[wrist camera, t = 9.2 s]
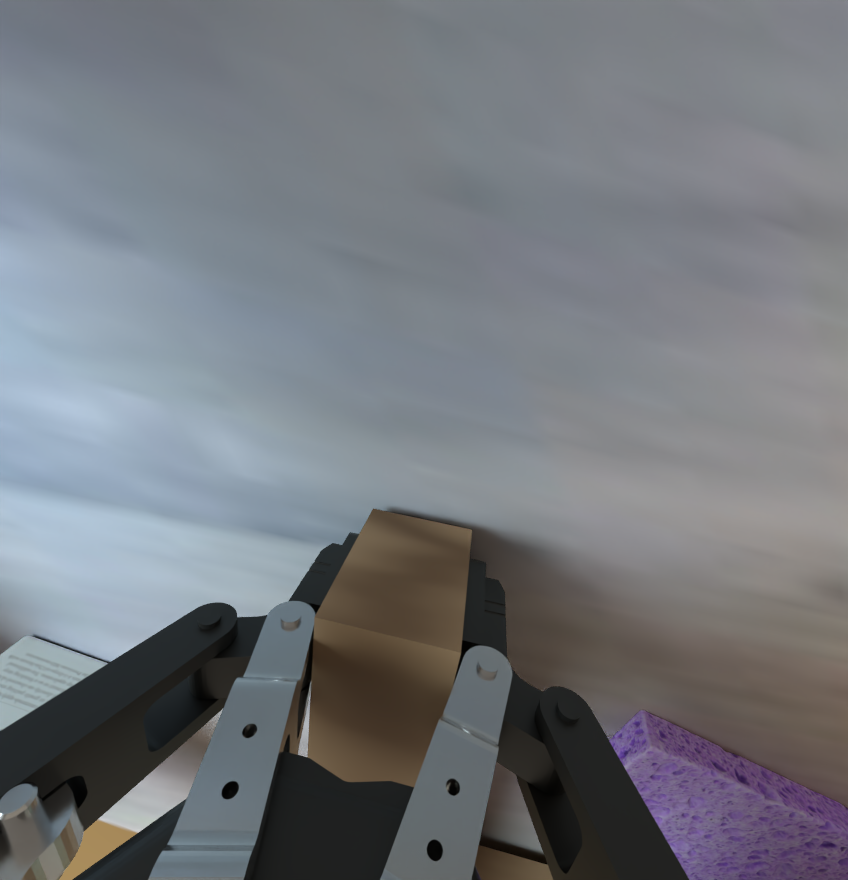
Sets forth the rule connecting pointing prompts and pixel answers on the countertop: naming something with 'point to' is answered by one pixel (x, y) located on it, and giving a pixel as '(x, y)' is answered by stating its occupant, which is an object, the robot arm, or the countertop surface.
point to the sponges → (730, 809)
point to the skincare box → (38, 675)
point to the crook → (394, 659)
